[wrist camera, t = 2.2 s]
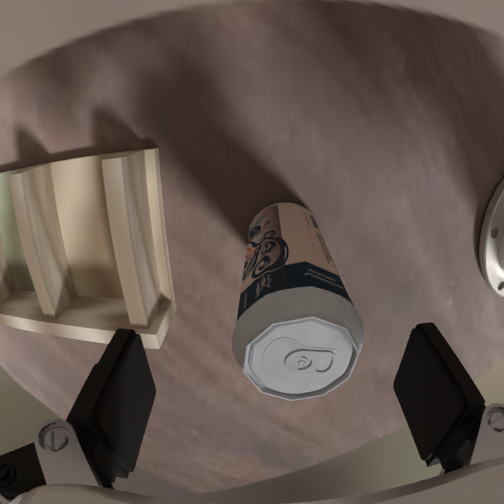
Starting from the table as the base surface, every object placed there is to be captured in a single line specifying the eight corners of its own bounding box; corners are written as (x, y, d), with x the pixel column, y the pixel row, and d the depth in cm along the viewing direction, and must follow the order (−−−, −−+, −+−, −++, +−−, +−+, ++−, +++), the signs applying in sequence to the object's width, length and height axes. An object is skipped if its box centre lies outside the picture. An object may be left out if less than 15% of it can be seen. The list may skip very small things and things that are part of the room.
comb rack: (158, 147, 19) (128, 157, 14) (176, 308, 24) (159, 349, 19) (-17, 176, 20) (-54, 191, 15) (12, 295, 24) (-15, 321, 20)
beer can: (251, 196, 20) (233, 297, 9) (325, 204, 20) (389, 309, 9) (245, 264, 22) (226, 402, 11) (313, 270, 22) (348, 408, 11)
